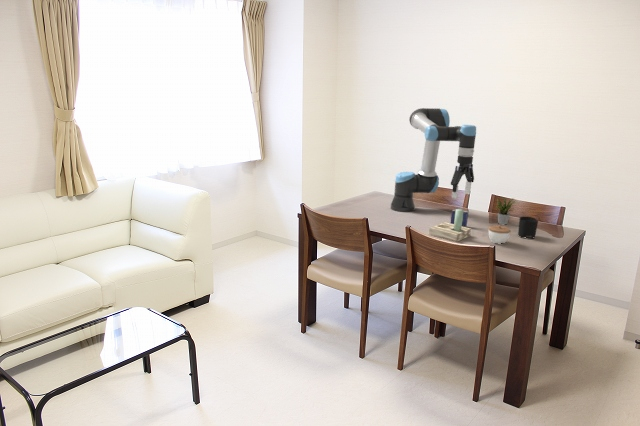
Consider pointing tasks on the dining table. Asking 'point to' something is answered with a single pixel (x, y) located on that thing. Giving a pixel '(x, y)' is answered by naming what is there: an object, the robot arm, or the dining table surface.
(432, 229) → the socket board
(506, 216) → the house plant
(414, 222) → the dining table surface
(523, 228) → the pen holder
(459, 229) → the dowel
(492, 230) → the lidded jar
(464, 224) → the blue green box
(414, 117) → the robot arm
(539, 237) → the dining table surface
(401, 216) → the dining table surface
